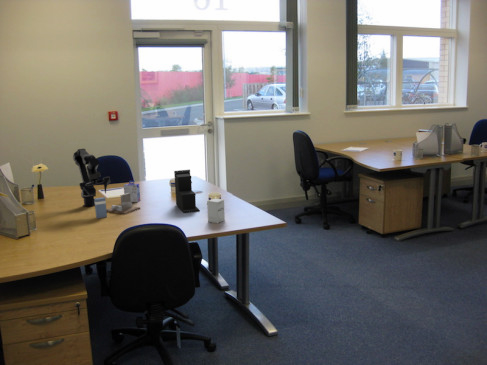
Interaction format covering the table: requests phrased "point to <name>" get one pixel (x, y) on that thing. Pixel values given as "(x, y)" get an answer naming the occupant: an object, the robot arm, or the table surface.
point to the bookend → (184, 192)
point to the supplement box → (215, 210)
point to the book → (100, 207)
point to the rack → (123, 205)
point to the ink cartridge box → (132, 191)
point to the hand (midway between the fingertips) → (98, 195)
